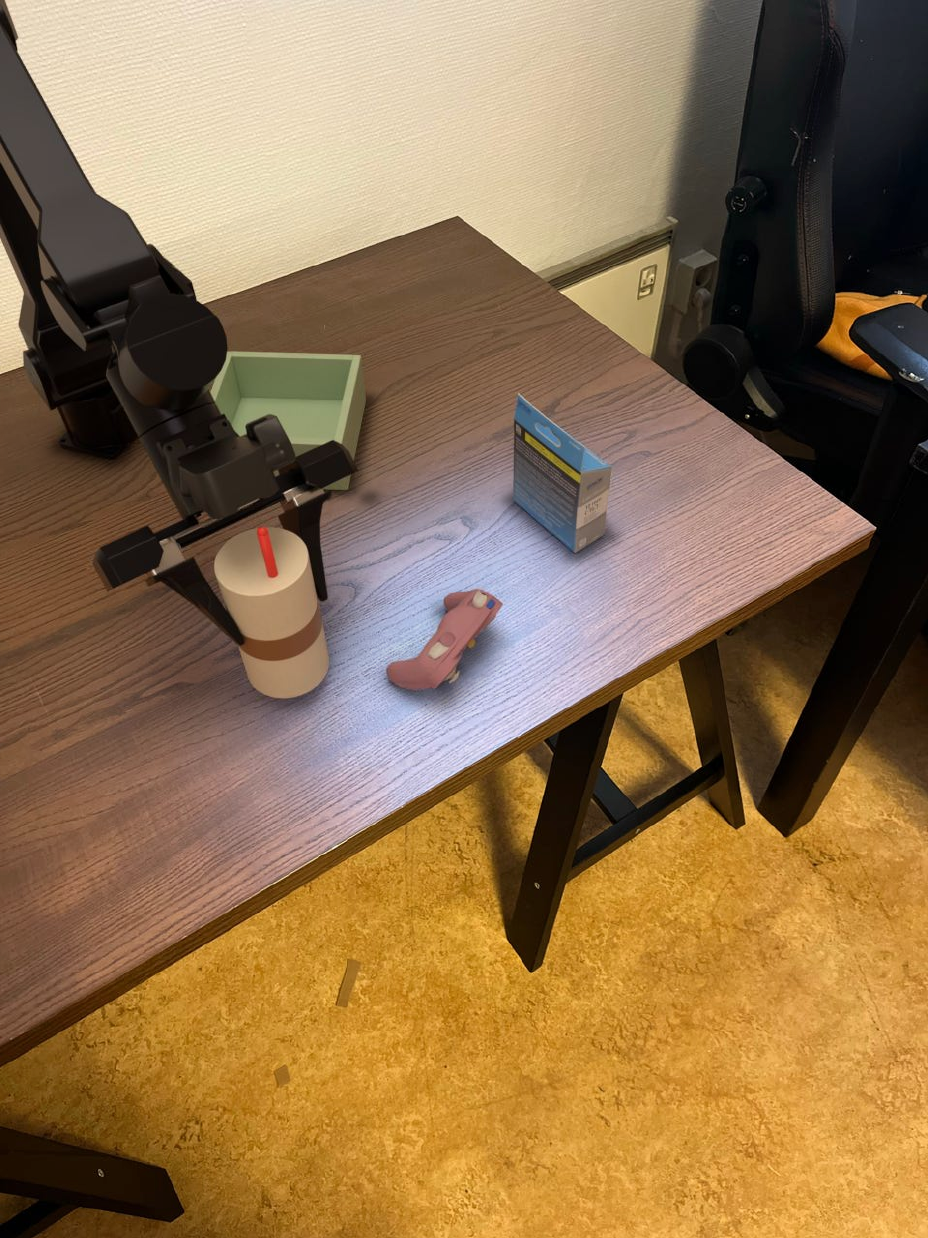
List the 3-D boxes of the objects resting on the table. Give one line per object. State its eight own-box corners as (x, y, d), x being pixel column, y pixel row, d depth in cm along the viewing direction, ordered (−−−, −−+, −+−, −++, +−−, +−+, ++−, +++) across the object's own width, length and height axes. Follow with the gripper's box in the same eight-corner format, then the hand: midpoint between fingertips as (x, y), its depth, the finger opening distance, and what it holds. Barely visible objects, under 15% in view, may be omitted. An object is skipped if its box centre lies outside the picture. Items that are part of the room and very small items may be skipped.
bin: (205, 485, 89) (191, 440, 85) (236, 396, 98) (225, 350, 93) (347, 490, 88) (341, 444, 84) (366, 399, 97) (361, 354, 93)
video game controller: (422, 714, 74) (454, 685, 68) (377, 677, 74) (406, 645, 68) (486, 631, 79) (522, 597, 74) (445, 596, 79) (477, 559, 73)
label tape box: (606, 536, 84) (622, 427, 75) (571, 556, 83) (583, 448, 73) (542, 483, 89) (549, 374, 79) (508, 502, 87) (512, 393, 78)
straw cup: (231, 658, 74) (181, 507, 61) (303, 619, 76) (269, 466, 64) (272, 713, 71) (227, 566, 58) (345, 671, 73) (318, 521, 60)
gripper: (48, 456, 54) (180, 694, 57) (327, 340, 61) (432, 557, 64) (46, 484, 64) (158, 684, 67) (286, 381, 71) (378, 567, 74)
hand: (283, 622), depth 68 cm, fingers closed on straw cup, 6 cm apart
